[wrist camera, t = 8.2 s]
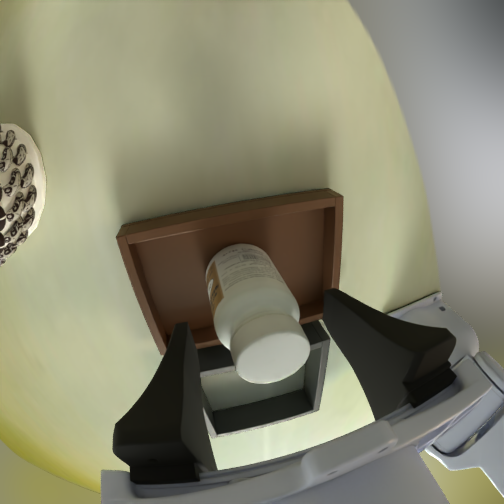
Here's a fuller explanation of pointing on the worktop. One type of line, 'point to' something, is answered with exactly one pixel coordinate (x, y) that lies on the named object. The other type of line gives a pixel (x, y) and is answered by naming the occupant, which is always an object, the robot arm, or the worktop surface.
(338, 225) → the tray
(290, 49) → the worktop surface
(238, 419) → the dark grey square frame
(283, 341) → the pill bottle
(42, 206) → the decorative candle
